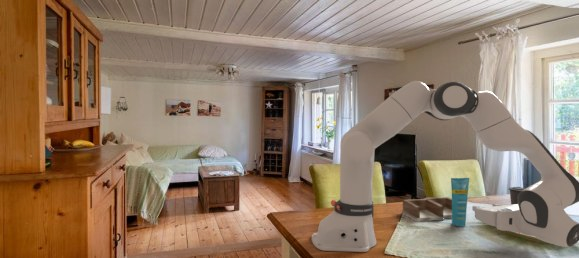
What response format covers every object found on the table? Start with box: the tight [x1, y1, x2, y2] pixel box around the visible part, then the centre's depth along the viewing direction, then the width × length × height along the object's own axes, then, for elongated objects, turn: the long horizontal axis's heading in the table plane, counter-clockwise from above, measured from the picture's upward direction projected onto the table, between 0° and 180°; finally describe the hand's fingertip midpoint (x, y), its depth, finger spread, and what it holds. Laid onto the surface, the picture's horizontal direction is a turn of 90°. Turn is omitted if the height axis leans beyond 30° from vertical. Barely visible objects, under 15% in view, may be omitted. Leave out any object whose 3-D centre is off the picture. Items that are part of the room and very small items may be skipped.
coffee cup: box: [508, 186, 526, 205], centre depth 153 cm, size 8×8×10 cm
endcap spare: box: [422, 196, 452, 219], centre depth 144 cm, size 12×12×6 cm
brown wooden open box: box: [402, 198, 444, 222], centre depth 140 cm, size 12×12×6 cm
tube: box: [450, 177, 470, 228], centre depth 129 cm, size 7×5×19 cm, turn 98°
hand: (484, 207), depth 118 cm, fingers open, 8 cm apart
